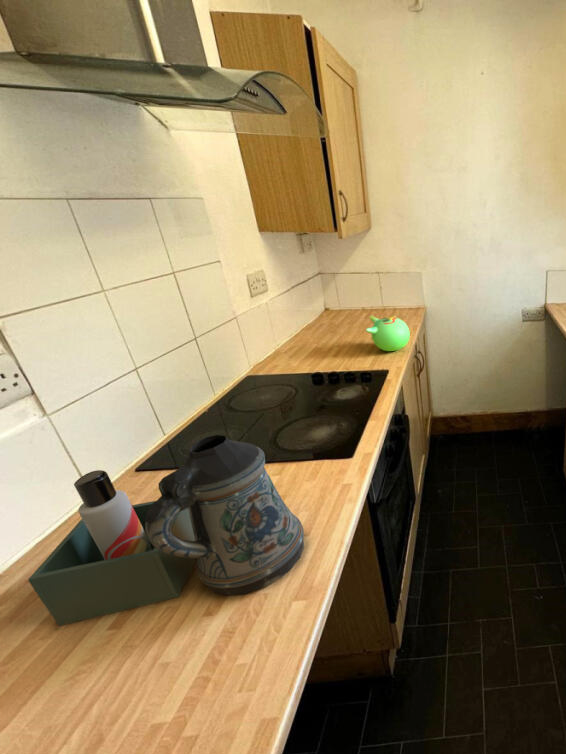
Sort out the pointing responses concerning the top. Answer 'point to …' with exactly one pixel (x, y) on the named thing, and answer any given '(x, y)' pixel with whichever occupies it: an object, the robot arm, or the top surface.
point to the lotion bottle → (110, 517)
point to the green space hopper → (389, 333)
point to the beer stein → (227, 518)
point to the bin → (109, 574)
